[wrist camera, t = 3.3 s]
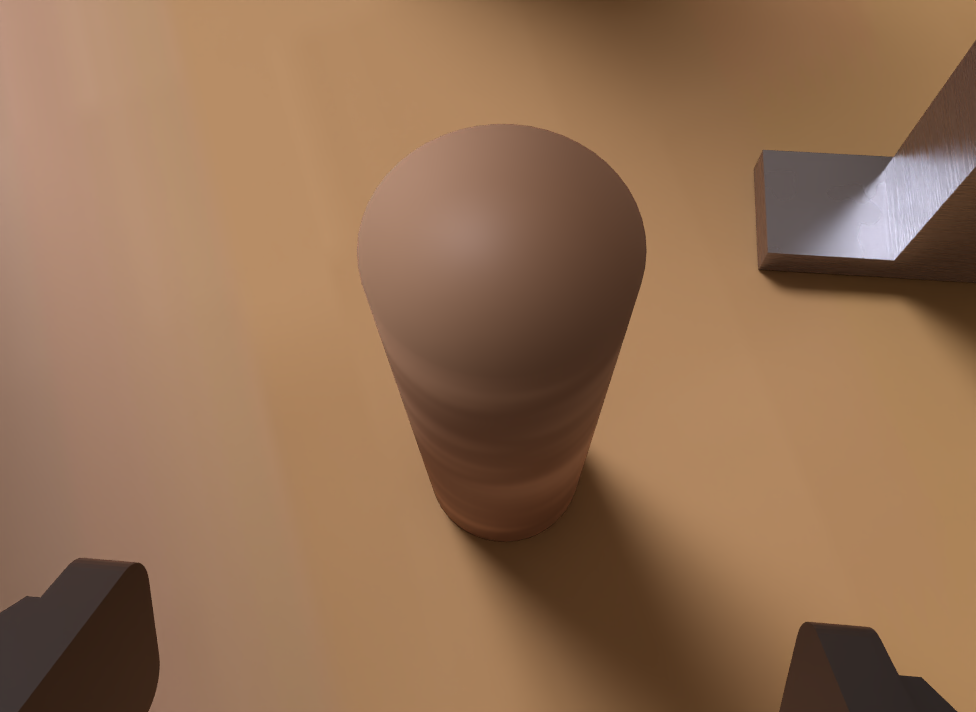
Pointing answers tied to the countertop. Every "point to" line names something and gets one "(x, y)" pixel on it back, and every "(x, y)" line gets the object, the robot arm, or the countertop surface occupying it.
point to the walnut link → (502, 313)
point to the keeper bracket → (879, 200)
